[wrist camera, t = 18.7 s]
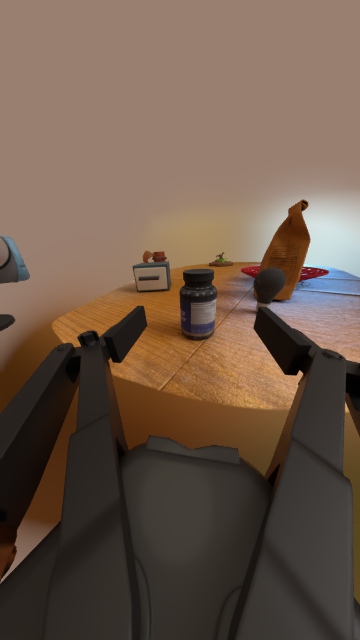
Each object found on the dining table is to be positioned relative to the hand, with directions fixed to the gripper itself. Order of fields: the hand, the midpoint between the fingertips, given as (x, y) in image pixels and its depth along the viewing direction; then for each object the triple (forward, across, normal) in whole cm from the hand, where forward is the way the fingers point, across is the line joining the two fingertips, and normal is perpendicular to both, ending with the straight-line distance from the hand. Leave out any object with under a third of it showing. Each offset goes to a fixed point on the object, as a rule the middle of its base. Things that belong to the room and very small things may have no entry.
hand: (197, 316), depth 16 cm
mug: (+72, -27, -7) cm, 77 cm away
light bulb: (+16, +15, -7) cm, 23 cm away
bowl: (+50, +33, -7) cm, 60 cm away
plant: (+127, +20, -7) cm, 129 cm away
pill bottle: (+7, 0, -7) cm, 10 cm away
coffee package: (+29, +22, -7) cm, 38 cm away
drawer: (+40, -19, -6) cm, 45 cm away
